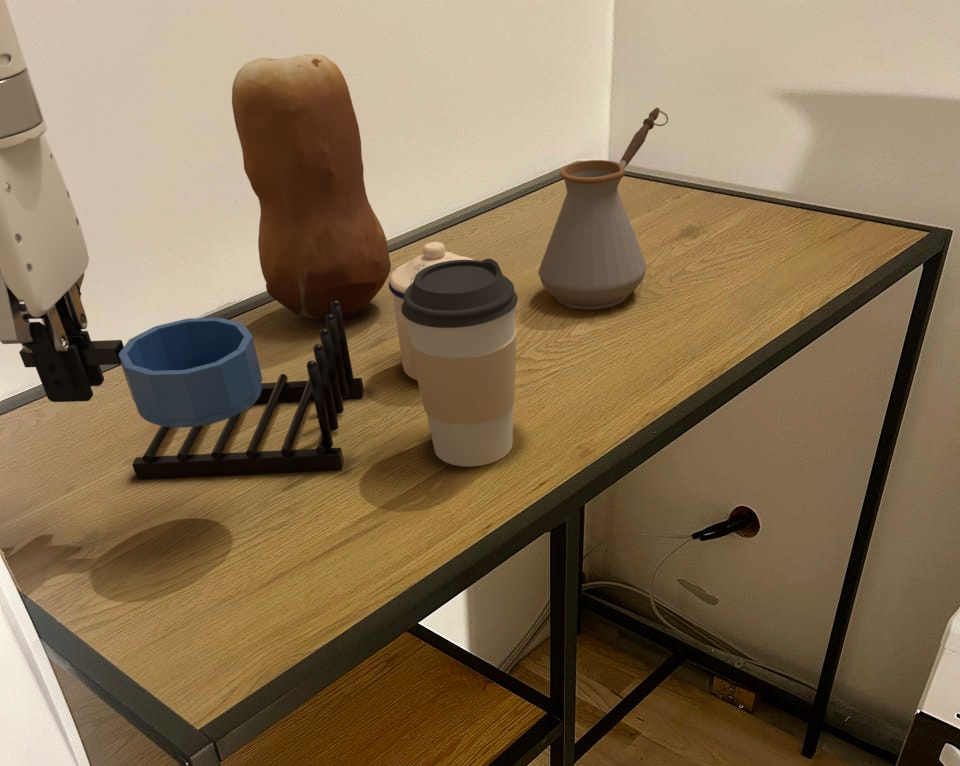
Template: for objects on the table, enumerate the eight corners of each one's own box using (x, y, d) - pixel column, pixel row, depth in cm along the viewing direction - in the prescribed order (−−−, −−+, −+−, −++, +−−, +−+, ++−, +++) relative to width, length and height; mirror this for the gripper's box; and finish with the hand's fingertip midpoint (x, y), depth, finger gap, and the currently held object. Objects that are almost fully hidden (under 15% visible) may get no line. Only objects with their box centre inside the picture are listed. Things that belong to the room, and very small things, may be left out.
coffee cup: (442, 484, 78) (419, 304, 68) (406, 435, 84) (381, 264, 74) (543, 455, 80) (535, 276, 70) (500, 410, 86) (488, 240, 76)
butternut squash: (344, 281, 113) (301, 35, 96) (420, 306, 105) (388, 44, 89) (248, 321, 106) (184, 64, 89) (323, 351, 98) (268, 76, 82)
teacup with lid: (407, 393, 90) (389, 269, 82) (395, 353, 97) (378, 235, 89) (530, 373, 91) (525, 249, 83) (510, 335, 98) (503, 217, 90)
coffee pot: (615, 324, 98) (617, 167, 88) (519, 307, 103) (511, 157, 93) (700, 253, 110) (710, 109, 101) (611, 241, 116) (612, 102, 106)
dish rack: (137, 479, 82) (99, 378, 76) (182, 401, 93) (152, 307, 86) (342, 469, 81) (321, 365, 74) (364, 391, 91) (347, 295, 85)
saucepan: (19, 432, 67) (-5, 376, 64) (67, 373, 74) (47, 320, 71) (246, 426, 66) (232, 369, 63) (273, 366, 72) (262, 312, 69)
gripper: (-28, 84, 63) (68, 346, 76) (-156, 152, 52) (-19, 449, 64) (80, 78, 63) (159, 343, 75) (-24, 145, 51) (89, 446, 63)
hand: (77, 390), depth 69 cm, fingers closed on saucepan, 1 cm apart
